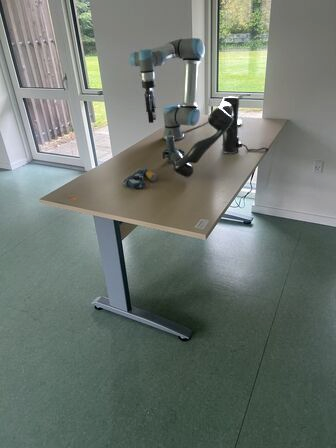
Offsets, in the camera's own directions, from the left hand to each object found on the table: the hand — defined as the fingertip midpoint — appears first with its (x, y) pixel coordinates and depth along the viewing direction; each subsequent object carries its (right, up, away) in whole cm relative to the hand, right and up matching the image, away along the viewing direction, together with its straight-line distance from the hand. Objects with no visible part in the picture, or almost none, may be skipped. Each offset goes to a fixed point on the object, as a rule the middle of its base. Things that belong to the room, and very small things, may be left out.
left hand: (152, 121), depth 202 cm
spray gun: (-5, -39, -18) cm, 43 cm away
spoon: (+59, +12, +57) cm, 83 cm away
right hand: (+11, -16, +5) cm, 20 cm away
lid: (0, +3, -2) cm, 4 cm away
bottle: (+12, -23, +6) cm, 26 cm away
